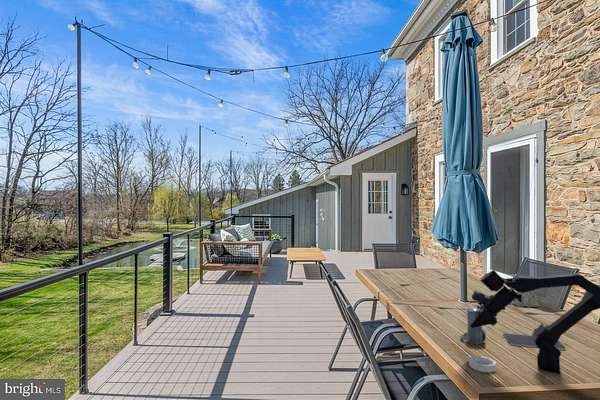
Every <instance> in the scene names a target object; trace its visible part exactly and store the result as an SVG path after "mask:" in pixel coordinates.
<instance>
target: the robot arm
mask: <svg viewBox="0 0 600 400" xmlns="http://www.w3.org/2000/svg"><path fill="white" fill-rule="evenodd" d="M479 281H480V282H481V284H483V285H484V286H485V287H487V288H488V289H489V291H490V292H495V294H490V295H486V294H484V293H482V292H481V291H478V290H476V289H475V290H474V291H473V292H472V294H471V299H472V300H473V301H476V302H477V304H476V308H478V309H481V310H480V311H479V310H478V317H477V318H476V319H475V320H474V322H473V323H472V324H471V325H470V326H471V327H472V328H475V327H479V326H482V327H484V326H488V325H491V326H493V327H494V326H495V325H497V323H498V314H499V313H500V312H501V311H505V310H506V307H507V306H509V305H510V304H512V302H513V300H515V299H517V300H518V301H520V302H522V295H521V294H517V293H516V292H517V291H518V292H520V293H525V292H529V291H533V290H537V289H544V288H557V287H570V286H571V287H572V286H578V287H580V288H581V289H583V290H585V291H586V292H585V293H584V295H583V297H582V299H581V300H580V301H579V302H578V303H576V304H575V305H574V306H572V307H571V308H570V309H569V310H568V311H565V313H564V314H563V315H561V316H560V317H558V318H557V319H556V320H555V321H553V322H552V323H551V324H549V325H544V324H543V323H541V324H540V325H539V326H538V327H536V328H533V332H532V335H531V336H532V339H533V341H534V343H535V344H536V346H537V347H538V348H537V347H536V348H537V349H538V352H537V355H536V356H537V357H536V360H537V364H536V365H537V367H538V370H539V371H543V372H549V373H552V374H558V375H560V374H561V367H560V366H561V365H560V363H561V362H560V357H561V354H562V352H561V350H559V349H558V348H557V346H556V343H557V342H558V341H559V340H560V338H561V336H562V335H564V333H566V332H567V331H568V330H570V329H571V328H572V327H574V326H575V325H576V324H577V323H579V322H580V321H582V319H584V318H586V317H587V316H588V315H589V314H590V313H592V312H593V311H596V310H599V309H600V284H596V283H593V282H592V281H591V280H589V279H587V278H586V277H585V276H584V275H582V274H580V273H578V272H575V273H574V272H573V273H569V274H558V275H544V276H543V275H542V276H530V275H514V276H512V277H510V278H503V277H501V276H500V275H499V274H498V273H497V272H496V271H495V270H494V269H492V270H491V271H489V272H487V273H485V274H484V275H483V276H482V277H481V278H480V280H479Z"/></svg>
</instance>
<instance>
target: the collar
mask: <svg viewBox="0 0 600 400" xmlns="http://www.w3.org/2000/svg"><path fill="white" fill-rule="evenodd" d="M468 363H469V367H470V368H471V369H473V370H475V371H477V372H482V373H489V374H490V373H495V372H497V361H496V360H494V359H492V358H490V357H487V356H482V355H473V356H470V358H469V359H468Z"/></svg>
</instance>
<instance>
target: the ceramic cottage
mask: <svg viewBox="0 0 600 400" xmlns="http://www.w3.org/2000/svg"><path fill="white" fill-rule="evenodd" d="M515 292H516V293H517V294H521V295H522V302H520V301H518V300H517V299H515V300H513V301H512V302H511V305H513V304H514V306H516V305H517V306H516V307H523V306H527V307H526V308H530V307H531V308H534V307H535V308H536V307H538V306H539V303H538V296H537V292H538V291H537V289H536V290H533V291H529V292H525V293H520V292H518V291H515Z"/></svg>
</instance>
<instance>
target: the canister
mask: <svg viewBox="0 0 600 400" xmlns="http://www.w3.org/2000/svg"><path fill="white" fill-rule="evenodd" d="M478 310H479V311H480V310H481V309H478V308H477V307H467V308H466V313H467V316H466V321H467V331H468V339H467V342H468V343H470V344H475V345H481V344H483V343H482V327H483V326H479V327H475V328H472V327H471V326H470V325H471V324H472V323H473V322H474V320H475V319H476V318H477V317H478Z"/></svg>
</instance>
